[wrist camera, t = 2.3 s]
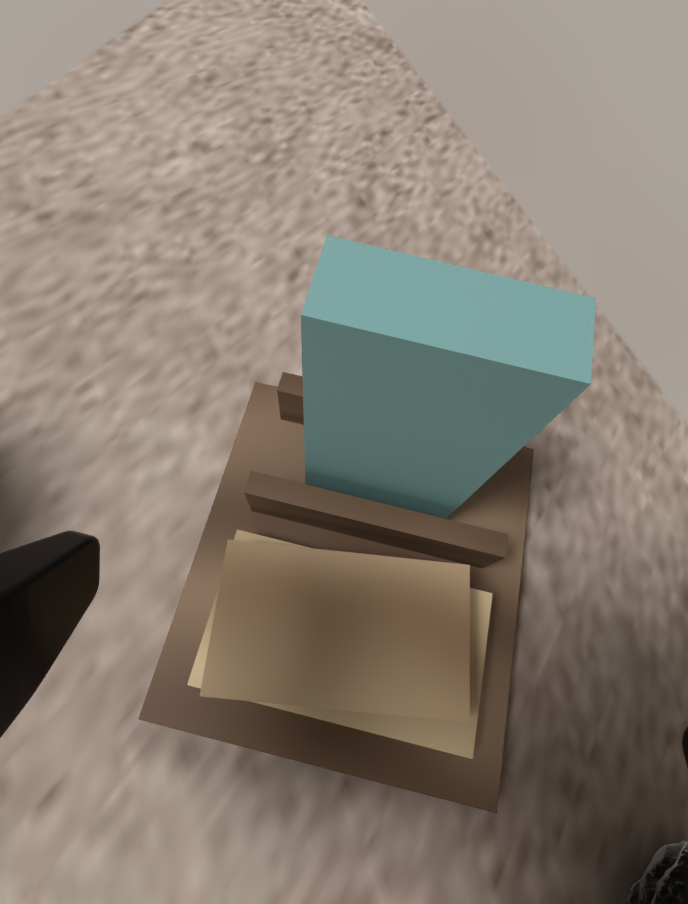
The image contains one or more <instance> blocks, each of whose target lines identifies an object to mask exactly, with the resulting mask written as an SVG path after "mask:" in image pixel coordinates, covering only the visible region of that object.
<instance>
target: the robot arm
mask: <svg viewBox="0 0 688 904" xmlns="http://www.w3.org/2000/svg"><path fill="white" fill-rule="evenodd" d="M99 570H100V545H99V541H98V539H97V538H96V537H94V536H91V535H88V534H84V533H80V532H76V531H66V532H62V533H59V534H56V535H53V536H50V537H47V538H44V539H41V540H38V541H35V542H32V543H29V544H26V545H23V546H21V547H18V548H15V549H12V550H9V551H6V552H3V553H0V738H1V737H2V735H3V734H4V733H5V731H6V730H7V729H8V727H9V726H10V725H11V723H12V722H13V721H14V720H15V718H16V717H17V716H18V714H19V713H20V712H21V710H22V709H23V708H24V706H25V705H26V704H27V702H28V701H29V700H30V698H31V697H32V695H33V694H34V693H35V691H36V690H37V688H38V687H39V685H40V683H41V682H42V680H43V679H44V677H45V676H46V674H47V673H48V671H49V669H50V668H51V666H52V665H53V663H54V661H55V660H56V658H57V657H58V655H59V653H60V652H61V650H62V648H63V647H64V645H65V644H66V642H67V640H68V639H69V637H70V636H71V634H72V632H73V631H74V629H75V628H76V626H77V624H78V623H79V621H80V620H81V618H82V616H83V615H84V613H85V611H86V610H87V608H88V607H89V605H90V603H91V602H92V600H93V598H94V597H95V595H96V592H97V589H98V586H99ZM682 748H683V753H684V756H685V760H686V763H687V767H688V727H687V728H686V730H685V731H684V734H683V739H682Z"/></svg>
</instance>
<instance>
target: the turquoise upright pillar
mask: <svg viewBox="0 0 688 904" xmlns="http://www.w3.org/2000/svg"><path fill="white" fill-rule="evenodd" d="M595 303H596V298H593V297H589V296H584V295H580V294H576V293H572V292H567V291H563V290H559V289H555V288H550V287H546V286H542V285H537V284H533V283H529V282H525V281H520V280H516V279H512V278H507V277H503V276H499V275H495V274H490V273H486V272H482V271H478V270H473V269H469V268H465V267H460V266H456V265H452V264H448V263H443V262H439V261H435V260H430V259H426V258H422V257H418V256H413V255H409V254H405V253H401V252H396V251H392V250H388V249H383V248H379V247H375V246H371V245H366V244H362V243H358V242H353V241H349V240H345V239H341V238H336V237H332V236H328V235H327V237H326V240H325V243H324V246H323V249H322V252H321V255H320V258H319V261H318V264H317V267H316V270H315V273H314V276H313V280H312V283H311V286H310V289H309V292H308V295H307V298H306V301H305V304H304V307H303V310H302V313H301V336H302V374H303V412H304V450H305V484H307V485H311V486H315V487H319V488H323V489H327V490H331V491H335V492H339V493H343V494H347V495H351V496H355V497H360V498H364V499H368V500H372V501H376V502H380V503H384V504H388V505H392V506H396V507H400V508H404V509H408V510H412V511H416V512H420V513H424V514H428V515H432V516H436V517H440V518H444V519H446V518H447V517H448V516H449V515H450V514H452V513H453V512H454V511H455V510H456V509H457V508H458V507H459V506H460V505H461V504H462V503H463V502H464V501H465V500H467V499H468V498H469V497H470V496H471V495H472V494H473V493H474V492H475V491H476V490H477V489H478V488H479V487H481V486H482V485H483V484H484V483H485V482H486V481H487V480H488V479H489V478H490V477H491V476H492V475H493V474H495V473H496V472H497V471H498V470H499V469H500V468H501V467H502V466H503V465H504V464H505V463H506V462H507V461H509V460H510V459H511V458H512V457H513V456H514V455H515V454H516V453H517V452H518V451H519V450H520V449H521V448H522V447H524V446H525V445H526V444H527V443H528V442H529V441H530V440H531V439H532V438H533V437H534V436H535V435H536V434H538V433H539V432H540V431H541V430H542V429H543V428H544V427H545V426H546V425H547V424H548V423H549V422H550V421H552V420H553V419H554V418H555V417H556V416H557V415H558V414H559V413H560V412H561V411H562V410H563V409H564V408H565V407H567V406H568V405H569V404H570V403H571V402H572V401H573V400H574V399H575V398H576V397H577V396H578V395H579V394H581V393H582V392H583V391H584V390H585V389H586V388H587V387H588V386H589V385H590V384H591V372H592V355H593V338H594V320H595Z"/></svg>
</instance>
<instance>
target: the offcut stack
mask: <svg viewBox="0 0 688 904" xmlns="http://www.w3.org/2000/svg"><path fill="white" fill-rule="evenodd" d="M492 595H493V593H489V592H485V591H481V590H477V589H473V588H470V565H466V564H456V563H447V562H437V561H428V560H418V559H409V558H399V557H390V556H380V555H371V554H361V553H352V552H342V551H333V550H323V549H314V548H309V547H305V546H301V545H297V544H293V543H289V542H285V541H281V540H277V539H273V538H269V537H265V536H261V535H257V534H253V533H249V532H245V531H241V530H237V532H236V535H235V538H234V540H229V539H228V541H227V547H226V552H225V558H224V563H223V569H222V574H221V580H220V584H219V587H218V591H217V594H216V597H215V600H214V603H213V606H212V609H211V612H210V615H209V618H208V622H207V625H206V628H205V631H204V634H203V637H202V640H201V643H200V646H199V649H198V653H197V656H196V659H195V662H194V665H193V668H192V671H191V674H190V677H189V681H188V684H187V685H189V686H193V687H196V688H200V689H201V691H200V696H202V697H212V698H222V699H232V700H243V701H250V702H254V703H258V704H262V705H266V706H270V707H274V708H277V709H281V710H285V711H289V712H293V713H297V714H301V715H304V716H308V717H312V718H316V719H320V720H324V721H328V722H331V723H335V724H339V725H343V726H347V727H351V728H355V729H358V730H362V731H366V732H370V733H374V734H378V735H382V736H385V737H389V738H393V739H397V740H401V741H405V742H408V743H412V744H416V745H420V746H424V747H428V748H432V749H435V750H439V751H443V752H447V753H451V754H455V755H459V756H462V757H466V758H470V759H473V752H474V744H475V736H476V727H477V719H478V711H479V703H480V694H481V686H482V678H483V669H484V661H485V653H486V644H487V636H488V628H489V619H490V611H491V603H492Z"/></svg>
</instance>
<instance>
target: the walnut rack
mask: <svg viewBox="0 0 688 904" xmlns="http://www.w3.org/2000/svg"><path fill="white" fill-rule="evenodd" d="M533 451H534V449H530V448H526V447H522V448H521V449H520V450H519V451H518V452H517V453H516V454H515V455H514V456H513V457H512V458H511V459H510V460H509V461H507V462H506V463H505V464H504V465H503V466H502V467H501V468H500V469H499V470H498V471H497V472H496V473H495V474H493V475H492V476H491V477H490V478H489V479H488V480H487V481H486V482H485V483H484V484H483V485H482V486H481V487H479V488H478V489H477V490H476V491H475V492H474V493H473V494H472V495H471V496H470V497H469V498H468V499H467V500H465V501H464V502H463V503H462V504H461V505H460V506H459V507H458V508H457V509H456V510H455V511H454V512H453V513H452V514H450V515H449V516H448V517H447V518H446V519H444V518H440V517H436V516H432V515H428V514H424V513H420V512H416V511H412V510H408V509H404V508H400V507H396V506H392V505H388V504H384V503H380V502H376V501H372V500H368V499H364V498H360V497H355V496H351V495H347V494H343V493H339V492H335V491H331V490H327V489H323V488H319V487H315V486H311V485H307V484H305V450H304V412H303V377H302V376H297V375H293V374H289V373H285V372H283V374H282V377H281V380H280V383H279V386H278V387H274V386H270V385H266V384H262V383H258V382H255V385H254V388H253V391H252V394H251V396H250V399H249V402H248V405H247V408H246V411H245V414H244V417H243V419H242V422H241V425H240V428H239V431H238V434H237V437H236V440H235V443H234V445H233V448H232V451H231V454H230V457H229V460H228V463H227V466H226V468H225V471H224V474H223V477H222V480H221V483H220V486H219V489H218V491H217V494H216V497H215V500H214V503H213V506H212V509H211V512H210V514H209V517H208V520H207V523H206V526H205V529H204V532H203V535H202V537H201V540H200V543H199V546H198V549H197V552H196V555H195V558H194V560H193V563H192V566H191V569H190V572H189V575H188V578H187V581H186V583H185V586H184V589H183V592H182V595H181V598H180V601H179V604H178V607H177V609H176V612H175V615H174V618H173V621H172V624H171V627H170V630H169V632H168V635H167V638H166V641H165V644H164V647H163V650H162V653H161V655H160V658H159V661H158V664H157V667H156V670H155V673H154V676H153V678H152V681H151V684H150V687H149V690H148V693H147V696H146V699H145V701H144V704H143V707H142V710H141V713H140V716H139V720H143V721H147V722H150V723H154V724H158V725H162V726H166V727H170V728H173V729H177V730H181V731H185V732H189V733H192V734H196V735H200V736H204V737H208V738H212V739H215V740H219V741H223V742H227V743H231V744H234V745H238V746H242V747H246V748H250V749H254V750H257V751H261V752H265V753H269V754H273V755H276V756H280V757H284V758H288V759H292V760H296V761H299V762H303V763H307V764H311V765H315V766H319V767H322V768H326V769H330V770H334V771H338V772H341V773H345V774H349V775H353V776H357V777H361V778H364V779H368V780H372V781H376V782H380V783H383V784H387V785H391V786H395V787H399V788H403V789H406V790H410V791H414V792H418V793H422V794H425V795H429V796H433V797H437V798H441V799H445V800H448V801H452V802H456V803H460V804H464V805H467V806H471V807H475V808H479V809H483V810H487V811H490V812H494V813H497V807H498V797H499V787H500V777H501V767H502V757H503V747H504V737H505V727H506V718H507V708H508V698H509V688H510V678H511V668H512V658H513V648H514V638H515V629H516V619H517V609H518V599H519V589H520V579H521V569H522V559H523V549H524V540H525V530H526V520H527V510H528V500H529V490H530V480H531V470H532V461H533ZM237 530H241V531H245V532H249V533H253V534H257V535H261V536H265V537H269V538H273V539H277V540H281V541H285V542H289V543H293V544H297V545H301V546H305V547H309V548H314V549H323V550H333V551H342V552H352V553H361V554H371V555H380V556H390V557H399V558H409V559H418V560H428V561H437V562H447V563H456V564H466V565H470V588H473V589H477V590H481V591H485V592H489V593H493V595H492V603H491V611H490V619H489V628H488V636H487V644H486V653H485V661H484V669H483V678H482V686H481V694H480V703H479V711H478V719H477V727H476V736H475V744H474V752H473V759H470V758H466V757H462V756H459V755H455V754H451V753H447V752H443V751H439V750H435V749H432V748H428V747H424V746H420V745H416V744H412V743H408V742H405V741H401V740H397V739H393V738H389V737H385V736H382V735H378V734H374V733H370V732H366V731H362V730H358V729H355V728H351V727H347V726H343V725H339V724H335V723H331V722H328V721H324V720H320V719H316V718H312V717H308V716H304V715H301V714H297V713H293V712H289V711H285V710H281V709H277V708H274V707H270V706H266V705H262V704H258V703H254V702H250V701H243V700H232V699H222V698H212V697H202V696H200V691H201V689H200V688H196V687H193V686H189V685H187V684H188V681H189V677H190V674H191V671H192V668H193V665H194V662H195V659H196V656H197V653H198V649H199V646H200V643H201V640H202V637H203V634H204V631H205V628H206V625H207V622H208V618H209V615H210V612H211V609H212V606H213V603H214V600H215V597H216V594H217V591H218V587H219V584H220V580H221V574H222V569H223V563H224V558H225V552H226V547H227V541H228V539H229V540H234V538H235V535H236V532H237Z"/></svg>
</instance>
